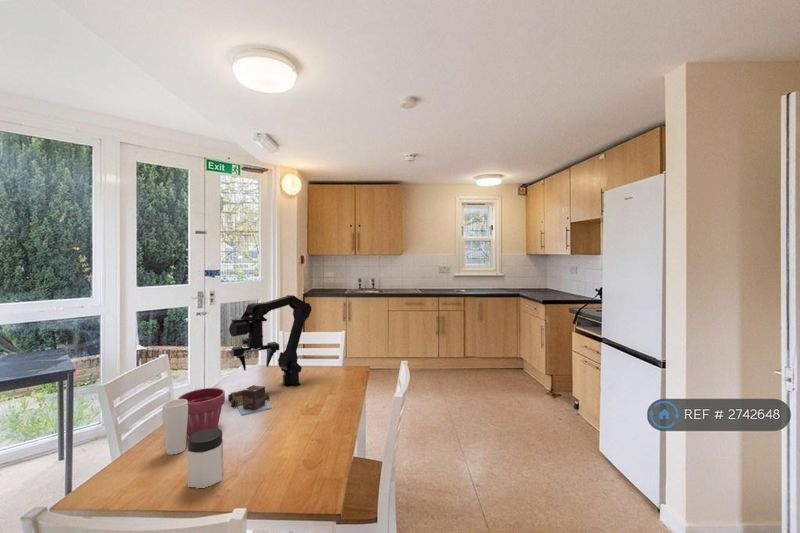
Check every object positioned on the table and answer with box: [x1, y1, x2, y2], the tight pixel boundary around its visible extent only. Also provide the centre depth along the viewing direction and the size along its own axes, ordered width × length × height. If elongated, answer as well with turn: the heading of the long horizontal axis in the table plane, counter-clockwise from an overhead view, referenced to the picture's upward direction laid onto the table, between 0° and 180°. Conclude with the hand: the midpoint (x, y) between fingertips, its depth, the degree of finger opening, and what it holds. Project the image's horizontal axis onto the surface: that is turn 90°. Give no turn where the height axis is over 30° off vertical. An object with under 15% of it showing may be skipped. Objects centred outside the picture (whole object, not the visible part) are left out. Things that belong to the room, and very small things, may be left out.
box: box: [242, 384, 266, 410], centre depth 143 cm, size 6×6×7 cm
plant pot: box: [177, 387, 226, 438], centre depth 125 cm, size 14×14×13 cm
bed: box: [227, 389, 271, 410], centre depth 152 cm, size 14×12×3 cm
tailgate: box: [236, 400, 273, 416], centre depth 143 cm, size 11×9×1 cm
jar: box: [186, 428, 224, 489], centre depth 97 cm, size 9×8×12 cm
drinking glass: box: [161, 398, 188, 456], centre depth 112 cm, size 7×7×15 cm
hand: (256, 368), depth 157 cm, fingers open, 9 cm apart
